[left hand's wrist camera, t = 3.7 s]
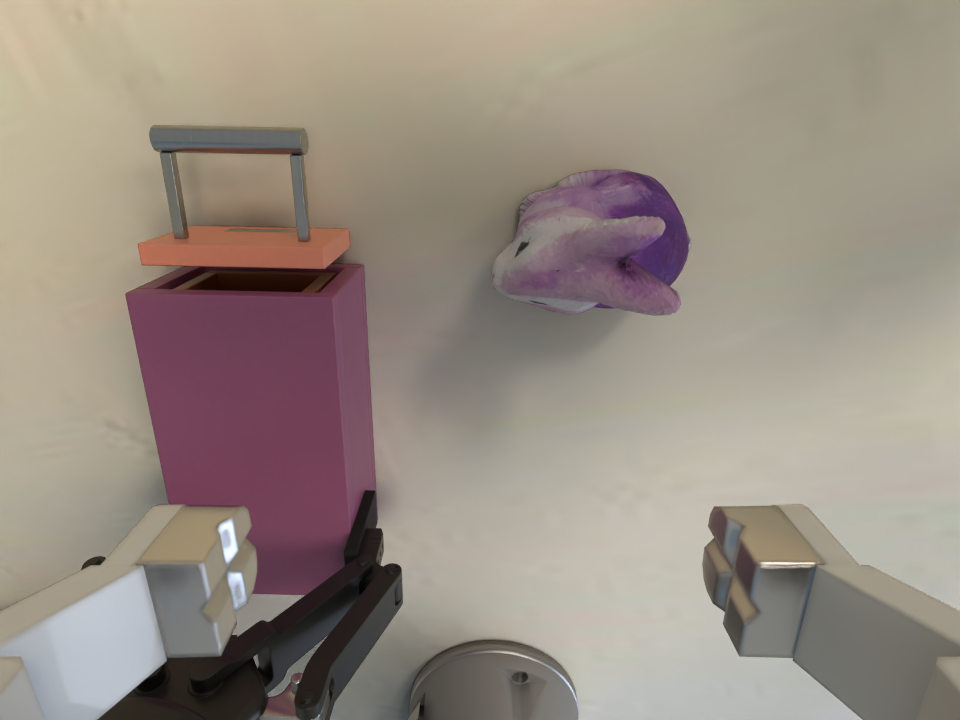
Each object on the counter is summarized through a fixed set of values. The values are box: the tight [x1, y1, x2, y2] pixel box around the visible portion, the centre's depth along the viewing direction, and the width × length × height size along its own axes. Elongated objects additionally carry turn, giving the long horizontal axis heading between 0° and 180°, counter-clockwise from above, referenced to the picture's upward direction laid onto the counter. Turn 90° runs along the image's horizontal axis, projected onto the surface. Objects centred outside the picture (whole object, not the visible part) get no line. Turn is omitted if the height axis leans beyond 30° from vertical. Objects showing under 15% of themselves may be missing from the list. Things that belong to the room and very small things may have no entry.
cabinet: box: [125, 264, 378, 595], centre depth 39 cm, size 21×11×8 cm, turn 179°
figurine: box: [492, 170, 691, 316], centre depth 31 cm, size 9×10×15 cm
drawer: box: [138, 125, 350, 293], centre depth 37 cm, size 25×10×6 cm, turn 179°
